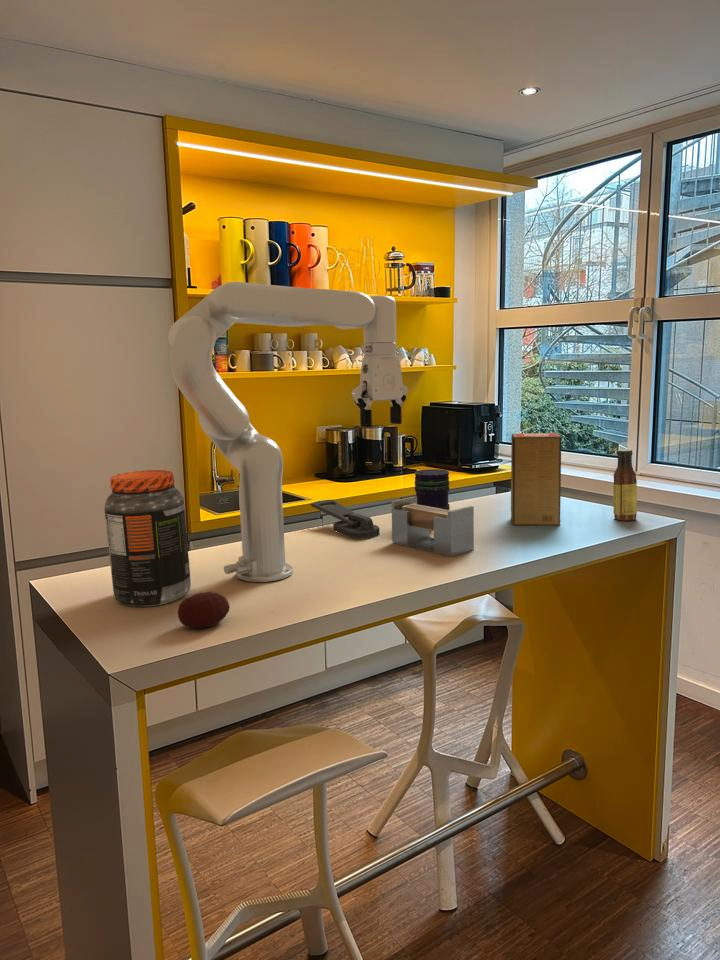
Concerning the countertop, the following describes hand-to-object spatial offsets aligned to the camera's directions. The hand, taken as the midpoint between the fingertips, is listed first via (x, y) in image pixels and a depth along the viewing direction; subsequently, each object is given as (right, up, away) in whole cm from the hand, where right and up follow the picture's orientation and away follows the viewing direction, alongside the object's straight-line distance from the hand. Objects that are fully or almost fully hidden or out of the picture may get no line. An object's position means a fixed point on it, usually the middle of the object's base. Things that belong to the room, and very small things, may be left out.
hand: (381, 425), depth 173 cm
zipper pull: (-9, -27, +34) cm, 45 cm away
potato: (-34, -40, -36) cm, 64 cm away
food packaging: (+45, -25, +37) cm, 63 cm away
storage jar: (+16, -26, +39) cm, 49 cm away
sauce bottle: (+70, -24, +37) cm, 83 cm away
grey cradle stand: (+13, -30, +14) cm, 35 cm away
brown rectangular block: (+13, -25, +13) cm, 31 cm away
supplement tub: (-48, -37, -19) cm, 64 cm away
